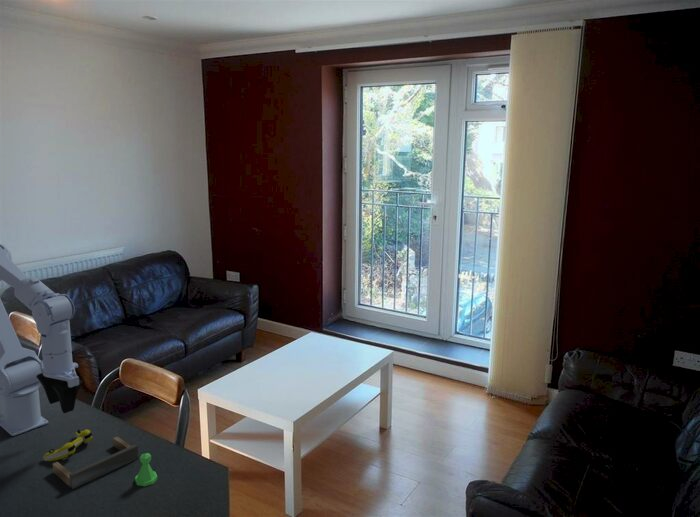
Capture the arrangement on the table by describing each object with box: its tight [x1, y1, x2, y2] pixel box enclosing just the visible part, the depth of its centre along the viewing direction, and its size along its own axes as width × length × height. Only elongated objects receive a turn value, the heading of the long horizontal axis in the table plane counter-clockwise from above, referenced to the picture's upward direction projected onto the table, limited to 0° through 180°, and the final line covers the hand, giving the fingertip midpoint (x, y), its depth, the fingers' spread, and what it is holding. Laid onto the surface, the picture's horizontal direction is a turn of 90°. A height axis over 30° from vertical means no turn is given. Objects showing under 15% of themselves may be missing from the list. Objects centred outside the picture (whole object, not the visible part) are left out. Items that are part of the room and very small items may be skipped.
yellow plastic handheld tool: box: [42, 429, 93, 462], centre depth 117 cm, size 10×6×4 cm, turn 168°
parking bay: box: [52, 436, 139, 490], centre depth 111 cm, size 8×14×3 cm, turn 142°
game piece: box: [134, 452, 158, 487], centre depth 107 cm, size 4×4×6 cm
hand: (61, 406), depth 119 cm, fingers open, 6 cm apart
